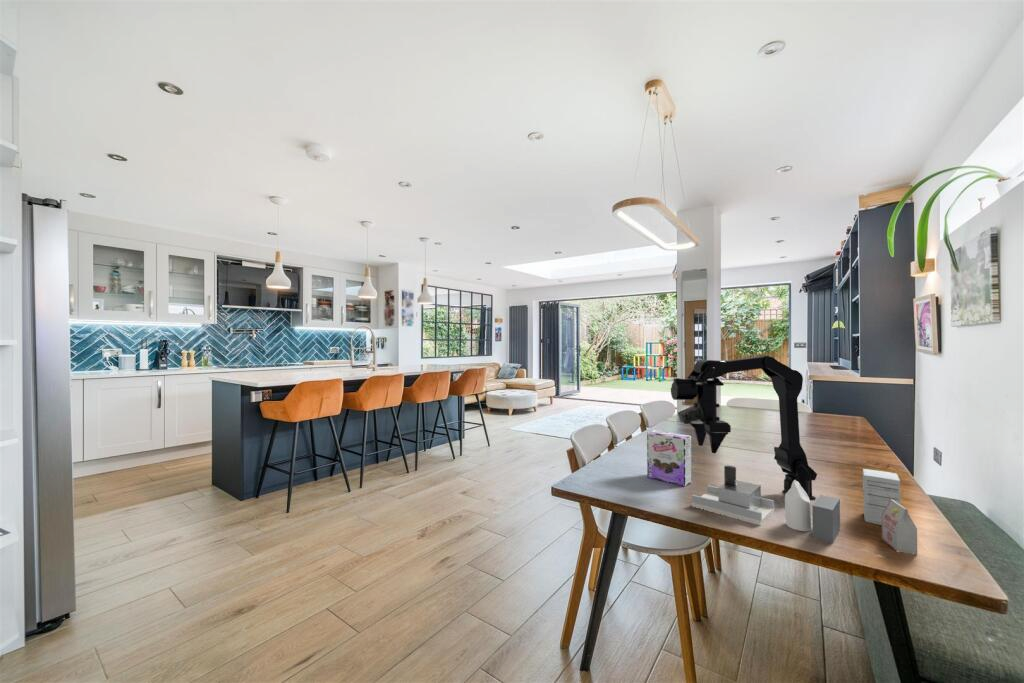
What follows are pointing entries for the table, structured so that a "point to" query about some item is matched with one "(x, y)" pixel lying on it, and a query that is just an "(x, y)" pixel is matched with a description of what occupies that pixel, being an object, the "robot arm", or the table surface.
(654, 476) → the candy box
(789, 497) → the white pouch
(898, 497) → the supplement box
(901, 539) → the gable top carton
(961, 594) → the table surface
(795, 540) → the table surface
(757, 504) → the block
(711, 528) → the table surface
